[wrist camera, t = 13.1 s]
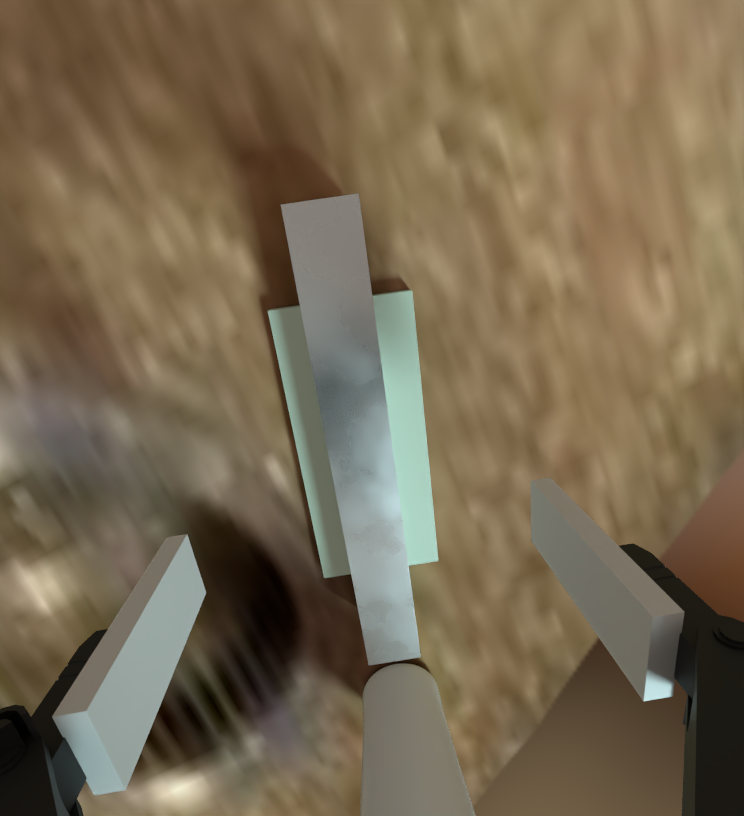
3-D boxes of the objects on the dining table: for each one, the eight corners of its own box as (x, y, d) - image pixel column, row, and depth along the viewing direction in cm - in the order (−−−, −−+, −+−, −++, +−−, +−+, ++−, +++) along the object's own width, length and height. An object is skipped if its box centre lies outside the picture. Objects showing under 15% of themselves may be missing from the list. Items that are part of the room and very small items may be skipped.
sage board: (435, 552, 26) (438, 561, 26) (324, 569, 26) (324, 578, 25) (409, 289, 21) (412, 290, 20) (270, 309, 21) (267, 310, 20)
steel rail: (412, 615, 27) (420, 657, 24) (366, 622, 27) (368, 665, 24) (356, 203, 19) (358, 193, 16) (290, 212, 19) (280, 204, 16)
